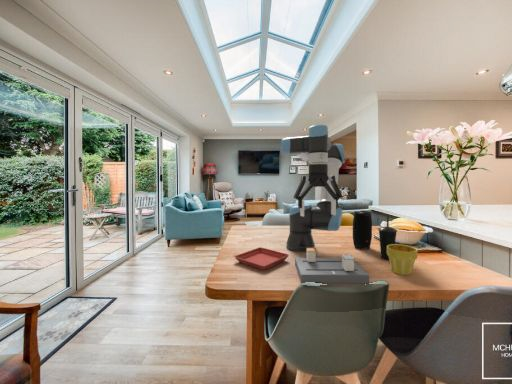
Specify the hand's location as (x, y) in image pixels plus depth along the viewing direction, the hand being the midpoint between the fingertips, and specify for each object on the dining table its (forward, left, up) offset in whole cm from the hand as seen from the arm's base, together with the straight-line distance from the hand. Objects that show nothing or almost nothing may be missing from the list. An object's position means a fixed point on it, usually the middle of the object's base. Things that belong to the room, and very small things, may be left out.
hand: (318, 215), depth 97 cm
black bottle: (+17, +32, -22) cm, 42 cm away
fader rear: (-2, -3, -18) cm, 19 cm away
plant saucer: (-22, -11, -23) cm, 34 cm away
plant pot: (+26, +19, -22) cm, 39 cm away
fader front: (+13, -1, -18) cm, 23 cm away
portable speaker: (+2, +41, -22) cm, 47 cm away
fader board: (+6, -2, -22) cm, 23 cm away
